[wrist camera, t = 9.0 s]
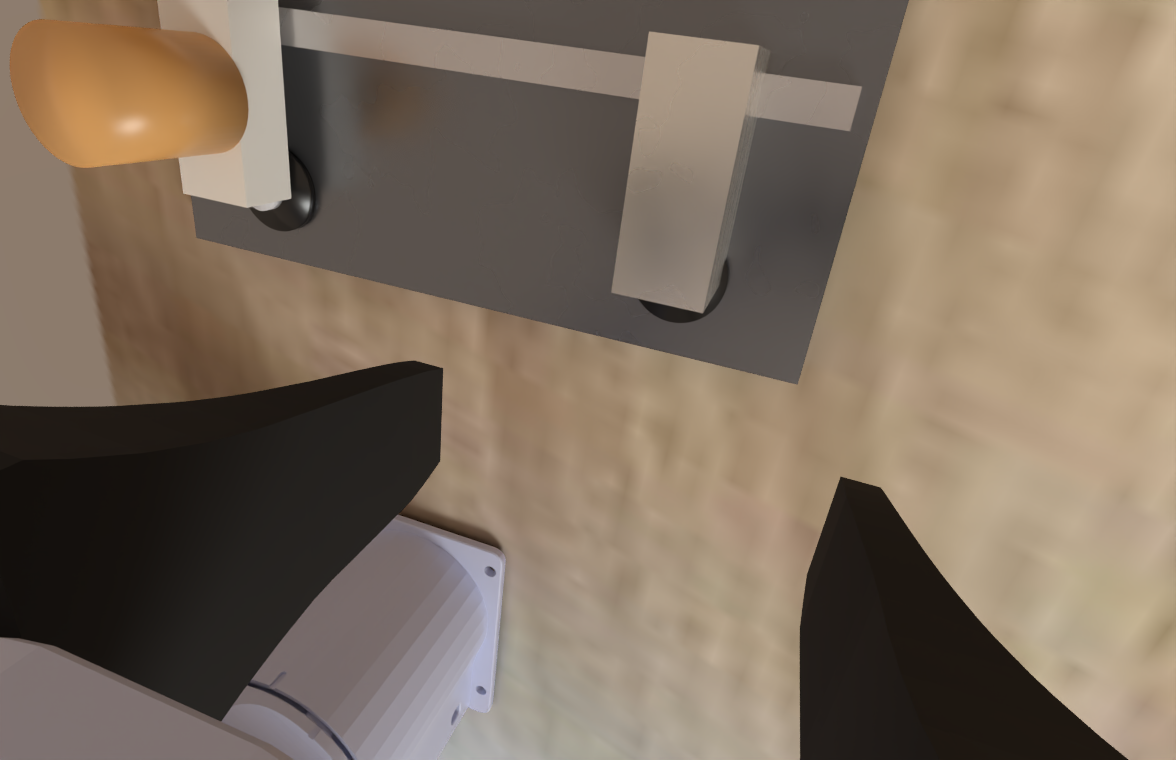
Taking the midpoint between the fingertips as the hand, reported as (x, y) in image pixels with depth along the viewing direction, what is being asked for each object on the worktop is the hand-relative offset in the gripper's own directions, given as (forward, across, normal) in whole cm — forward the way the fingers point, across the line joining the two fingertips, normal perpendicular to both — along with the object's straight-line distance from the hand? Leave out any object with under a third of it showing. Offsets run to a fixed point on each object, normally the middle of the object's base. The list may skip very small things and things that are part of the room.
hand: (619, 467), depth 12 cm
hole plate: (+10, +8, -4) cm, 14 cm away
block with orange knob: (+9, +15, -4) cm, 18 cm away
